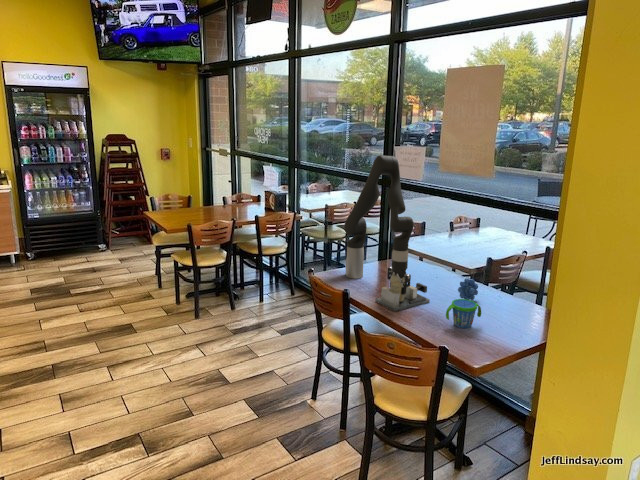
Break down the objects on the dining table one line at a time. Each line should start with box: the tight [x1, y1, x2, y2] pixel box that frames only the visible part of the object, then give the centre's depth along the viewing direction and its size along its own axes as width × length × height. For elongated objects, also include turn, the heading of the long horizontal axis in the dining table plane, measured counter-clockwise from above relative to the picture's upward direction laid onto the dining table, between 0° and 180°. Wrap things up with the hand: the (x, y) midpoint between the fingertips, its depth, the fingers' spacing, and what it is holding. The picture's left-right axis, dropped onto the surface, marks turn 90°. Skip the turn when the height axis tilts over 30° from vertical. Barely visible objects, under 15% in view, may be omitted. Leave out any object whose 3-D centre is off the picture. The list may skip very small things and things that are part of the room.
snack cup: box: [445, 298, 482, 329], centre depth 206 cm, size 16×10×10 cm
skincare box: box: [391, 275, 405, 302], centre depth 228 cm, size 6×4×12 cm
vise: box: [375, 286, 431, 312], centre depth 231 cm, size 14×22×8 cm, turn 122°
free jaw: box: [405, 282, 428, 301], centre depth 235 cm, size 10×11×6 cm
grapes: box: [457, 277, 479, 301], centre depth 232 cm, size 12×7×12 cm, turn 111°
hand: (397, 291), depth 229 cm, fingers closed on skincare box, 7 cm apart
